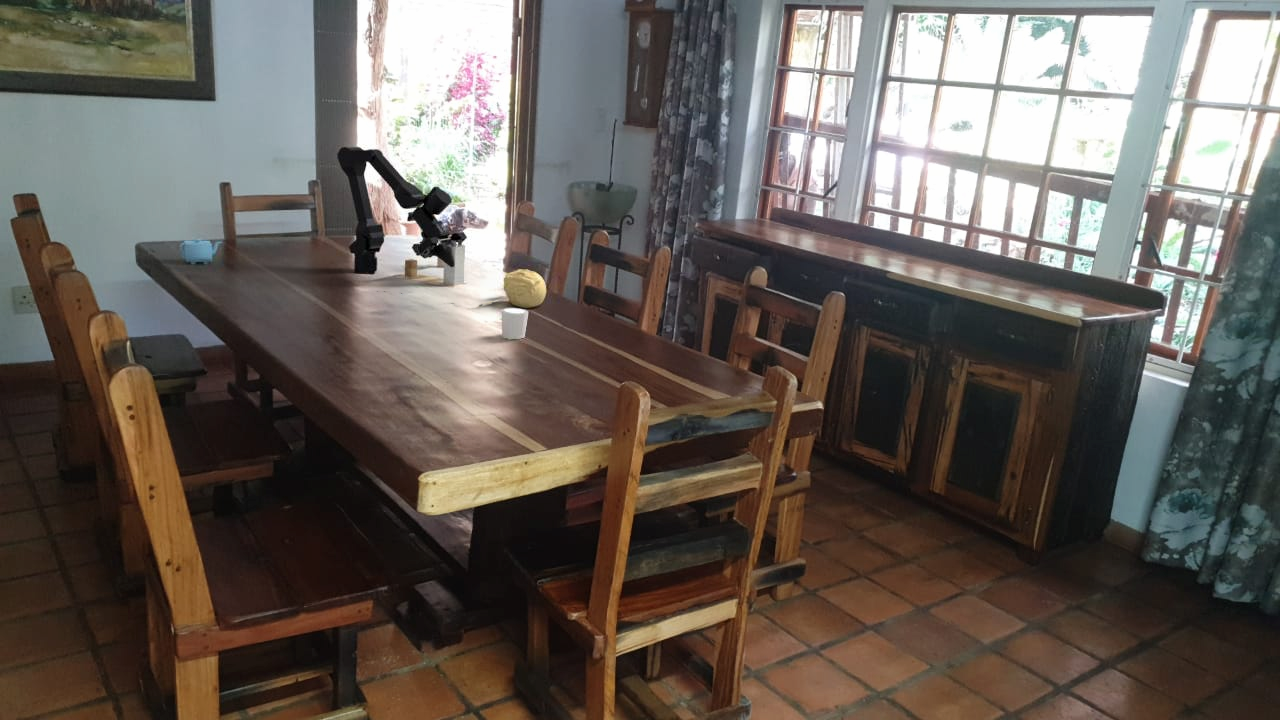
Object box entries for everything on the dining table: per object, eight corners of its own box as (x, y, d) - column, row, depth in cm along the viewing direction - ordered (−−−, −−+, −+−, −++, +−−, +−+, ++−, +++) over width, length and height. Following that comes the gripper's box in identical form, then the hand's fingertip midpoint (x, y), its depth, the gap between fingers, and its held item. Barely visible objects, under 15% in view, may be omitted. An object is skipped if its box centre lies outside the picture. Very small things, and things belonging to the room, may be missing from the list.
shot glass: (505, 341, 234) (506, 314, 232) (496, 333, 240) (497, 307, 238) (530, 340, 237) (532, 313, 235) (521, 332, 243) (522, 306, 241)
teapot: (221, 260, 294) (220, 237, 292) (224, 264, 290) (223, 240, 287) (179, 261, 288) (178, 237, 286) (181, 265, 283) (180, 240, 281)
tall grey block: (443, 284, 283) (444, 242, 280) (452, 282, 288) (454, 240, 284) (454, 286, 282) (455, 244, 278) (463, 284, 286) (465, 242, 283)
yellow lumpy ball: (497, 305, 270) (498, 268, 267) (519, 298, 281) (521, 263, 278) (530, 312, 266) (532, 275, 263) (552, 305, 276) (554, 269, 273)
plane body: (395, 281, 288) (396, 260, 286) (412, 277, 296) (412, 257, 294) (452, 292, 280) (453, 271, 279) (468, 288, 288) (468, 267, 286)
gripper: (431, 237, 295) (459, 276, 294) (394, 243, 279) (423, 285, 278) (453, 215, 290) (481, 255, 289) (416, 220, 274) (446, 263, 273)
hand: (458, 265), depth 282 cm, fingers closed on tall grey block, 5 cm apart
